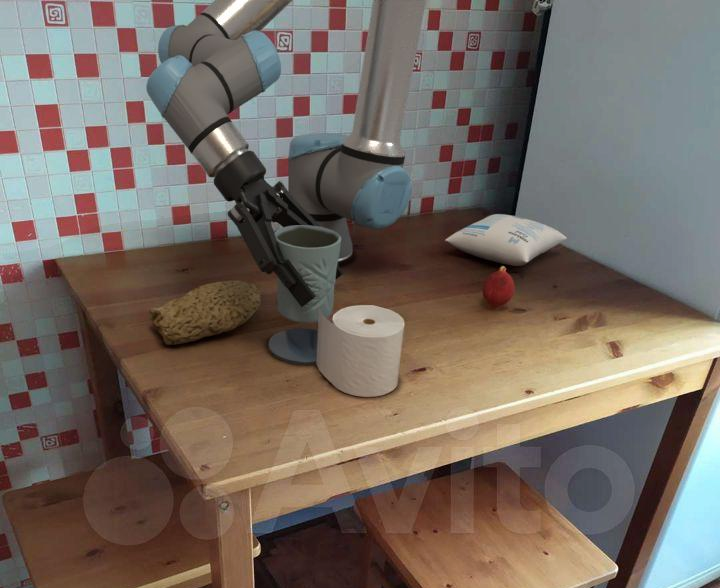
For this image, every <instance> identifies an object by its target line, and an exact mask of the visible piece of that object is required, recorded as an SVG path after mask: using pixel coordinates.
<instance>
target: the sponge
mask: <svg viewBox="0 0 720 588" xmlns="http://www.w3.org/2000/svg"><path fill="white" fill-rule="evenodd" d="M260 292H261V291H260V288H259V286H257V285H255V284H252V283H250V282H245V281H242V280H238V279H237V280H234V279H232V280H220V281H216V282H211V283H207V284H203V285H200V286H197V288H194V289H192V290H189V291H188V292H186V294H184V296H182V297H179V298H174V299H172V300H169V301H168V302H166V303H165V304H164V305H162V306H158V307H153V308H150V309H149V311H148V312H149V314H148V318H149V321H150V322H151V324H152V326H153V327H154V328H156V329H157V332H158V333H159V334H160V335H161V336H162V340H163V342H164V343H165V344H166V345H167V346H169V345H173V346H175V345H180V344H186V343H189V342H195V341H198V340H200V339H203V338H205V337H212V336H215V335H219V334H221V333H226V332H230V331H232V330H234V329H237V328H238V327H239V326H241V325H243V324H245V323H246V322H247V321H248V320H249V319H250V318H251V317H252V316H254V315H255V313H256V312H257V310H258V309H259V308H260V305H261V298H262V294H260Z"/></svg>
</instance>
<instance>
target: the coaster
mask: <svg viewBox="0 0 720 588" xmlns="http://www.w3.org/2000/svg"><path fill="white" fill-rule="evenodd" d="M317 339H318V329H311V328H290V329H287V330H283V331H279V332H277V333H275V334H273V335H272V336H271V337H270V338H269V340H268V351H269V352H270V354H271V355H272V356H273V357H274V358H277V359H278V360H280V361H282V362H285V363H288V364H292V365H298V366H314V365H315V366H316V365H317V364H316V361H317Z"/></svg>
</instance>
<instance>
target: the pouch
mask: <svg viewBox="0 0 720 588" xmlns="http://www.w3.org/2000/svg"><path fill="white" fill-rule="evenodd" d="M567 239H568V237H567V236H565V235H564V234H563V233H561V231H559V230H557V229H555V228H553V227H551V226H550V225H549V226H548V225H546V224H543V223H541V222H539V221H536V220H532V219H528V218H524V217H521V216H515V215H510V214H505V213H504V214H502V213H495V214H491V215H488V216H486V217H484V218H483V219H480V220H479V221H476V222H473V223H472V224H469V225H467V226H466V227H464V228H462V229H459V230H457V231H456V232H455V233H453V234H451V235H449V236H448V237H447V238H446V239H444V241H445V242H447V244H449V245H450V246H452V247H454V248H455V249H457V250H458V251H461V252H464V253H467V254H469V255H472V256H474V257H478V258H480V259H482V260H483V259H484V260H487V261H491V262H494V263H498V264H502V265H506V266H507V265H508V266H514V267H521V266H525V265H527V263H529V262H531V261H532V260H533V259H535V258H536V257H539V256H540V255H543V254H544V253H546V252H547V251H549V250H551V249H553V248H554V247H556V246H558V245H560V244H561V243H562V242H564V241H565V240H567Z"/></svg>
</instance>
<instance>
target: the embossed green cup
mask: <svg viewBox="0 0 720 588" xmlns="http://www.w3.org/2000/svg"><path fill="white" fill-rule="evenodd" d="M274 233H275V236H276V239H277V242H278V244H279V247H280V250H281V253H282V256H283V258H284V263H285V262H287V261H288V260H289V261H290V262H291V264H292V265H293V266H294V268H295V269H296V270H297V272H298V273H299V274H300V276H301V277H302V278H303V280H304V281H305V282H306V284H307V285H308V287H309V288H310V289H311V291H312V292H313V293H314V295H315V296H316V297H315V298H314V299H312V300H311V301H310V302H308V303H307V304H306V305H304V306H303V307H301V306H300V305H299V303H298V302H297V301H296V299H295V298H294V297H293V295H292V294H291V293H290V291H289V290H288V289H287V288H286V287H285V286H284V284H283V283H282V282H281V280H280V279H279V278H278V276H277V275H276V280H277V291H276V297H277V298H276V299H277V309H278V310H277V311H278V313H279V314H280V315H281V316H282V317H284V318H285V319H287V320H290V321H292V322H297V323H304V324H305V323H306V324H307V323H318V317H319V312H318V311H319V310H320V311H321V313H322V314H323V315H324V316H325V317H326V318H327V319H329V318H330V317H331V316H332V313H333V309H334V301H335V285H336V282H337V281H336V280H337V279H336V278H335V277H336V269H337V264H338V259H339V252H340V245H341V236H340V235H339V234H338V233H336V232H335V231H333V230H330V229H327V228H323V227H318V226H310V225H294V226H287V227H280V228H279V229H277V230H276V231H274Z"/></svg>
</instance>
